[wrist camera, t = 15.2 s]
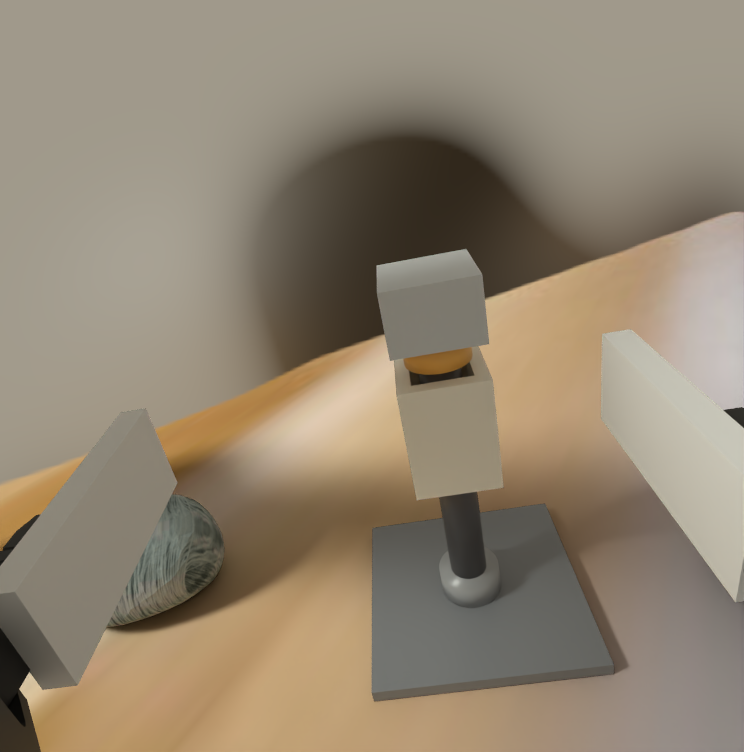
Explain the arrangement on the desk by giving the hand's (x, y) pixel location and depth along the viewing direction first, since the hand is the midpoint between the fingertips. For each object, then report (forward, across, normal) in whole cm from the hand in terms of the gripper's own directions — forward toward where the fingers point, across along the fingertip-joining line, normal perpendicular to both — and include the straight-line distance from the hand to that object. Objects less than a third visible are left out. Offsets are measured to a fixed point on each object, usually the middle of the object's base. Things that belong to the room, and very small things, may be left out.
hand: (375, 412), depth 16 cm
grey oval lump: (+18, -22, -24) cm, 37 cm away
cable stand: (+14, +3, -24) cm, 27 cm away
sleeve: (+14, +3, -13) cm, 19 cm away
